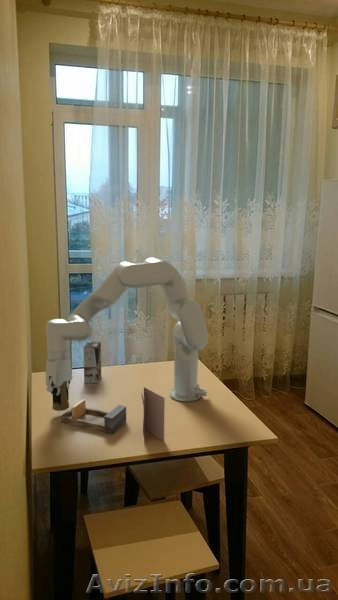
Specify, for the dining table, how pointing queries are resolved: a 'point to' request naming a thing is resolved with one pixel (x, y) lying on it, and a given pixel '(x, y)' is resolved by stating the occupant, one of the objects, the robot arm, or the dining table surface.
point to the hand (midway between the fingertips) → (60, 401)
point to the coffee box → (92, 362)
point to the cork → (62, 398)
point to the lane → (97, 419)
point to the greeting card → (153, 413)
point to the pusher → (79, 409)
